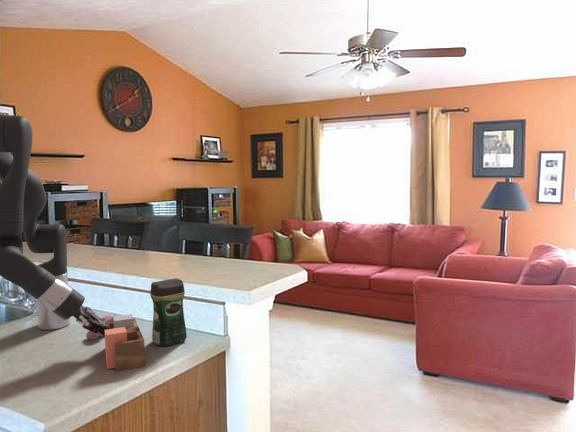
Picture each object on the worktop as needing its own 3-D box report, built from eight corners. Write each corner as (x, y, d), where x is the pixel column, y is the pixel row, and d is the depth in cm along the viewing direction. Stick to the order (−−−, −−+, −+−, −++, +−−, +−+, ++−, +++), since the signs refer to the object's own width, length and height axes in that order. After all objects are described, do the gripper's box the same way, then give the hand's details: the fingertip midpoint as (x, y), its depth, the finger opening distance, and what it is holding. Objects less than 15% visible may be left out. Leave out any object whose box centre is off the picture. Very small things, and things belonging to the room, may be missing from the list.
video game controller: (96, 345, 131) (104, 326, 130) (83, 338, 132) (92, 318, 130) (114, 333, 141) (123, 315, 139) (102, 326, 141) (111, 308, 140)
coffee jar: (179, 333, 137) (177, 274, 135) (190, 341, 130) (188, 280, 128) (148, 340, 131) (146, 279, 129) (158, 349, 124) (156, 285, 122)
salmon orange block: (106, 362, 115) (104, 329, 114) (126, 359, 118) (124, 326, 117) (107, 369, 112) (105, 335, 111) (127, 365, 114) (126, 331, 113)
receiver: (110, 345, 127) (109, 322, 126) (135, 341, 130) (134, 318, 129) (116, 371, 111) (115, 344, 110) (145, 365, 114) (144, 339, 113)
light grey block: (114, 347, 126) (112, 316, 125) (132, 344, 128) (131, 314, 127) (115, 352, 122) (114, 321, 121) (134, 349, 124) (133, 318, 123)
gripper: (71, 294, 111) (124, 332, 118) (71, 282, 123) (119, 318, 130) (49, 317, 110) (103, 355, 116) (51, 302, 121) (100, 338, 128)
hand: (112, 335), depth 123 cm, fingers closed
